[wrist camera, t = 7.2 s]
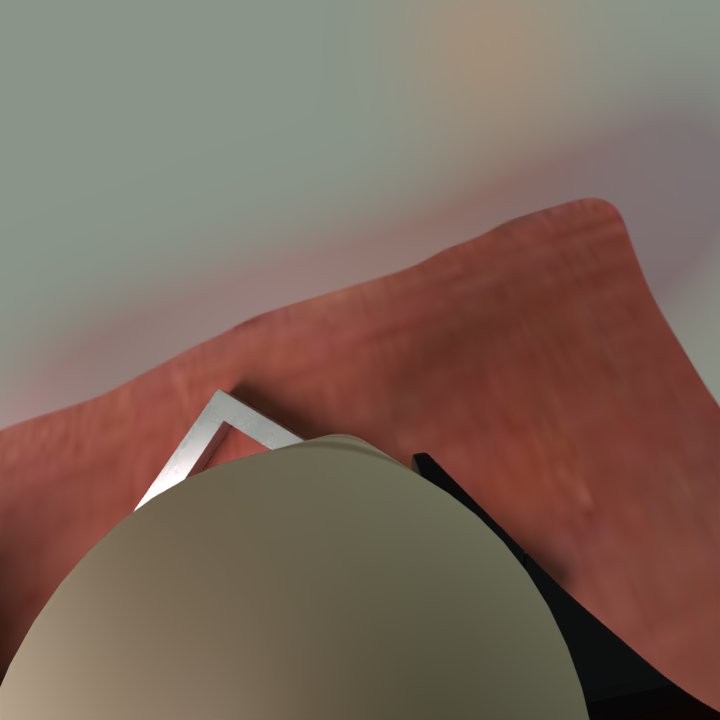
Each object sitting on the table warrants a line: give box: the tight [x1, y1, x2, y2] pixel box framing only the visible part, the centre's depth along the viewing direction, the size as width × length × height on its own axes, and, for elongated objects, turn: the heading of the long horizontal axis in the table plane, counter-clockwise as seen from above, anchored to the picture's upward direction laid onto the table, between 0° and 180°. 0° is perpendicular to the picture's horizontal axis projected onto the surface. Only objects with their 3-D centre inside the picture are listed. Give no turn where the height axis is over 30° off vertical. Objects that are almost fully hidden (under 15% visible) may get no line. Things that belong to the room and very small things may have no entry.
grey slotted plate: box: [134, 389, 308, 511], centre depth 20 cm, size 10×26×2 cm, turn 60°
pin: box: [0, 434, 589, 720], centre depth 9 cm, size 5×5×13 cm
